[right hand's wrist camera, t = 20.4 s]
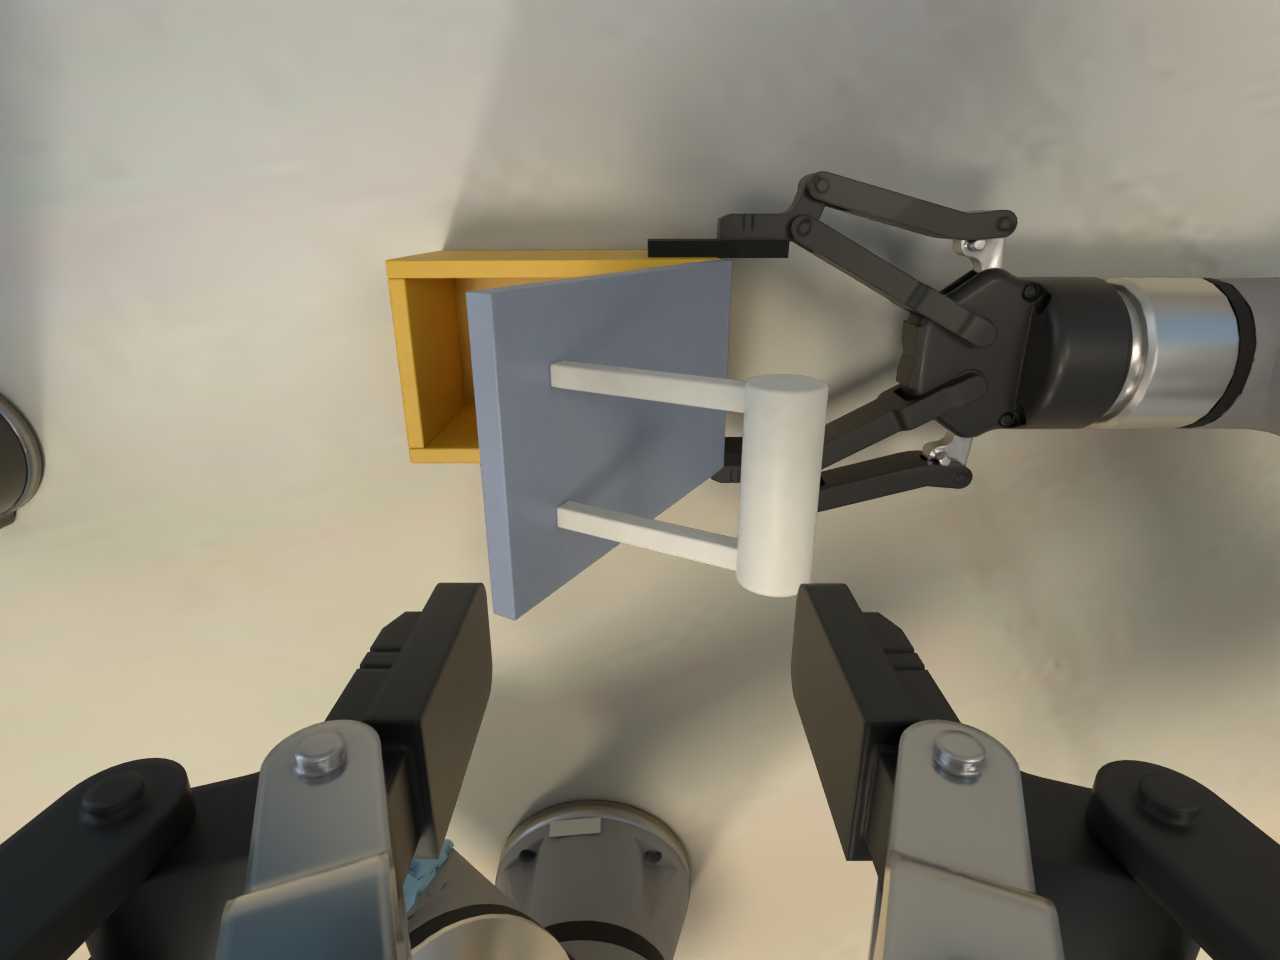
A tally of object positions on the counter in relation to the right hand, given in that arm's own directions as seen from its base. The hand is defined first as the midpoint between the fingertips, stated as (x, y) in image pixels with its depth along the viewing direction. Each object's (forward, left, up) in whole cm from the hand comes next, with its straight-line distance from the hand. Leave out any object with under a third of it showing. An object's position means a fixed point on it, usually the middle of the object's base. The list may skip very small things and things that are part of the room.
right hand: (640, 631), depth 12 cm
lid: (0, +1, -15) cm, 15 cm away
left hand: (0, 0, -25) cm, 25 cm away
